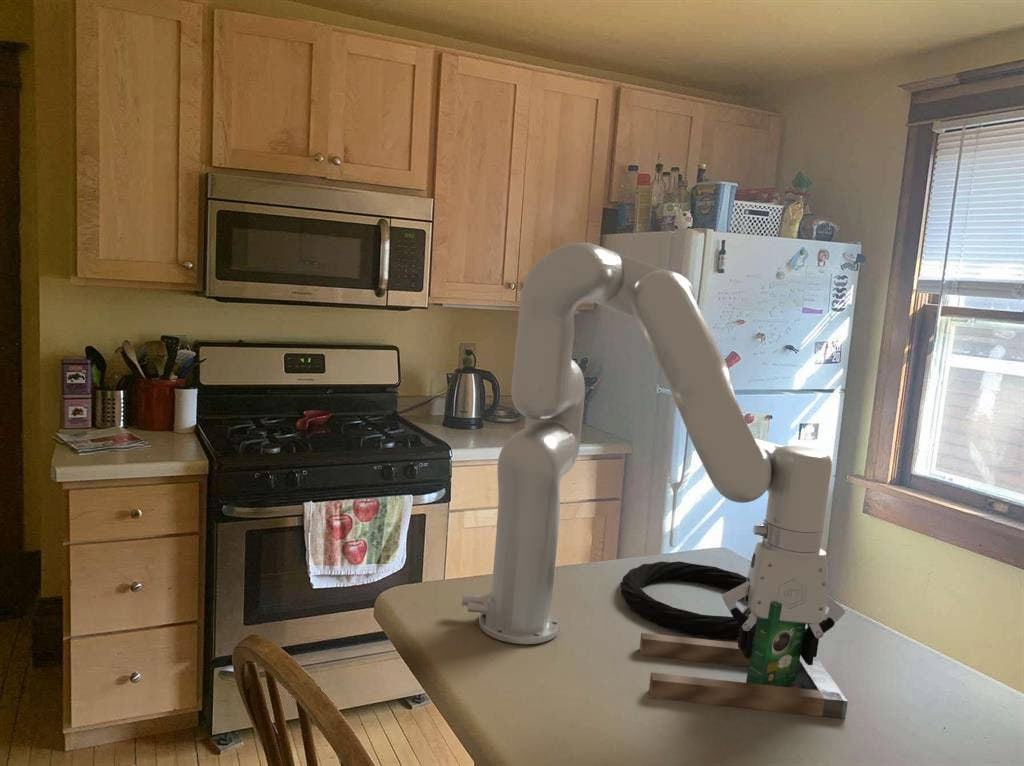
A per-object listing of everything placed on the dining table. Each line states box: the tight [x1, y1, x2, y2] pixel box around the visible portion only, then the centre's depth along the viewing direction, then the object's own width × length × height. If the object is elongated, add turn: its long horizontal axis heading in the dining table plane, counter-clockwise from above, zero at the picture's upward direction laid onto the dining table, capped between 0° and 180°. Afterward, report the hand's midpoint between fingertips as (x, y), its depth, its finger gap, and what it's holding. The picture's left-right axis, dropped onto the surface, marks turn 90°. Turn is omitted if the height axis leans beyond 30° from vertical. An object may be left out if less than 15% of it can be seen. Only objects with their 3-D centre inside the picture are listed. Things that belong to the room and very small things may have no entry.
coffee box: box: [745, 602, 807, 687], centre depth 107 cm, size 8×3×13 cm, turn 122°
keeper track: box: [639, 632, 849, 720], centre depth 108 cm, size 26×14×2 cm, turn 87°
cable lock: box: [619, 560, 756, 640], centre depth 133 cm, size 28×4×30 cm
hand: (775, 656), depth 107 cm, fingers closed on coffee box, 7 cm apart
